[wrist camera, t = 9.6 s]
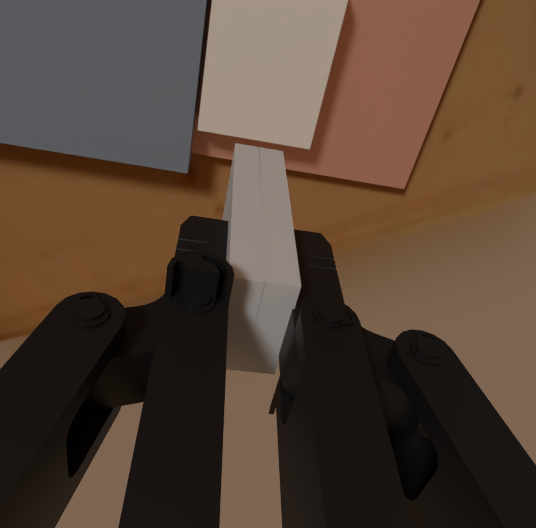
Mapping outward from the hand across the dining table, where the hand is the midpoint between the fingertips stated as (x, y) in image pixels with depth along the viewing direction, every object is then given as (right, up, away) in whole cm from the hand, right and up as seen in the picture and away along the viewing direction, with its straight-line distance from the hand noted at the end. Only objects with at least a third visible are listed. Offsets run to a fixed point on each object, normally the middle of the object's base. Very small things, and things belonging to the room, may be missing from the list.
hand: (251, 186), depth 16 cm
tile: (0, +9, +13) cm, 16 cm away
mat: (+4, +10, +15) cm, 18 cm away
